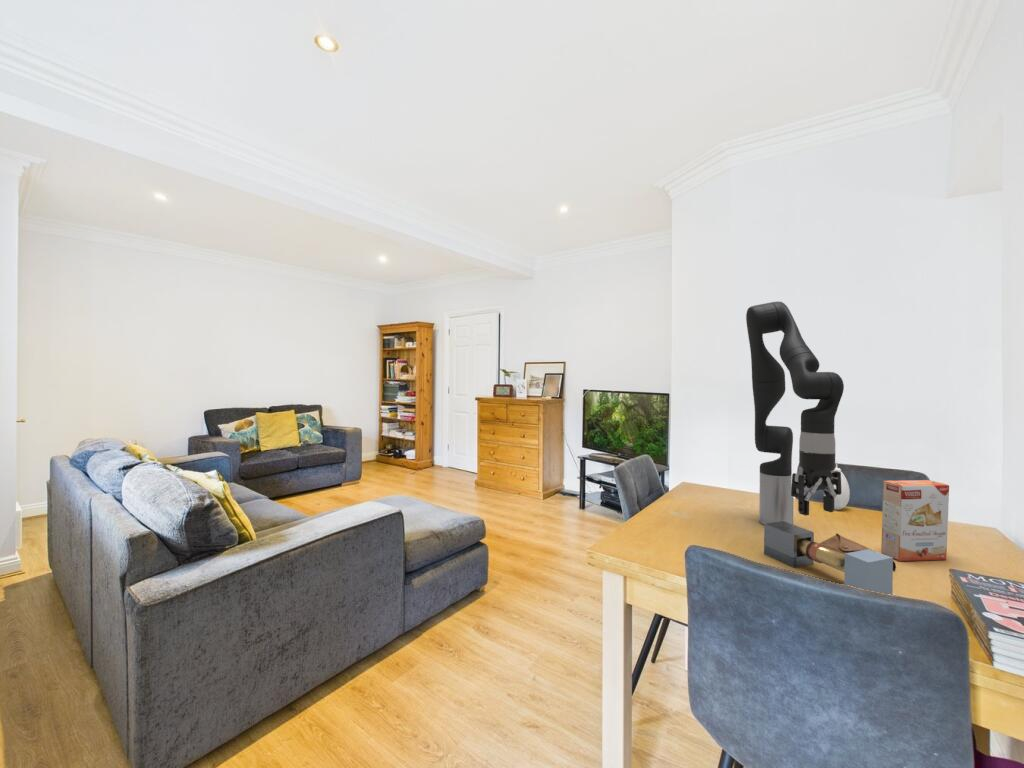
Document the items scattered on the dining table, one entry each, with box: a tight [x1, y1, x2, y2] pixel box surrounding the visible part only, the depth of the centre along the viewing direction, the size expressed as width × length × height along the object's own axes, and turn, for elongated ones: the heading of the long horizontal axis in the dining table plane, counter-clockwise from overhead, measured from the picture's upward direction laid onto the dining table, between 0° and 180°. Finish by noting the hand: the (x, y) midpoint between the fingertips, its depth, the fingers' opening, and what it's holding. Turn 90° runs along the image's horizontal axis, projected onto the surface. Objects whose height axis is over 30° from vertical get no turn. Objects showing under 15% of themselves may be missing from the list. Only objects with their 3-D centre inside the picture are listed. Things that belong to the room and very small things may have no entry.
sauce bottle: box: [823, 461, 851, 511], centre depth 160 cm, size 8×8×18 cm
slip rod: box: [797, 538, 845, 573], centre depth 112 cm, size 5×19×5 cm, turn 18°
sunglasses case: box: [819, 533, 897, 572], centre depth 118 cm, size 18×7×7 cm, turn 5°
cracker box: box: [880, 479, 950, 562], centre depth 118 cm, size 14×6×21 cm, turn 94°
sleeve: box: [763, 521, 815, 568], centre depth 117 cm, size 7×9×9 cm
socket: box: [844, 548, 894, 595], centre depth 98 cm, size 8×5×9 cm, turn 108°
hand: (816, 512), depth 109 cm, fingers open, 8 cm apart
